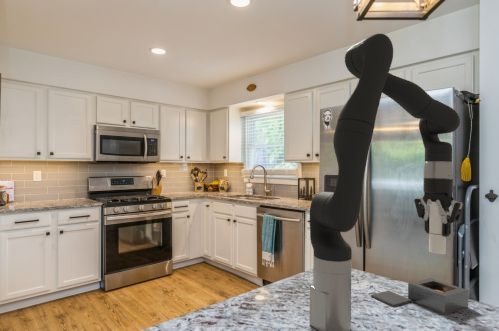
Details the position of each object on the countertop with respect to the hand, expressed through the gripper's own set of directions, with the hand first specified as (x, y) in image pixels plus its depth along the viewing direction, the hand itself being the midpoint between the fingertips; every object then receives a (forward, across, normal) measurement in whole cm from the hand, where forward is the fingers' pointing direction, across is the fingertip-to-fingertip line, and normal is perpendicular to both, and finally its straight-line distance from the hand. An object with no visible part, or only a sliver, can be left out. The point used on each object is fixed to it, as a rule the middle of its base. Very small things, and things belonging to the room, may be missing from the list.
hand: (437, 234), depth 92 cm
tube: (+6, 0, 0) cm, 6 cm away
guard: (+20, 0, 0) cm, 20 cm away
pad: (+20, -8, -10) cm, 24 cm away
